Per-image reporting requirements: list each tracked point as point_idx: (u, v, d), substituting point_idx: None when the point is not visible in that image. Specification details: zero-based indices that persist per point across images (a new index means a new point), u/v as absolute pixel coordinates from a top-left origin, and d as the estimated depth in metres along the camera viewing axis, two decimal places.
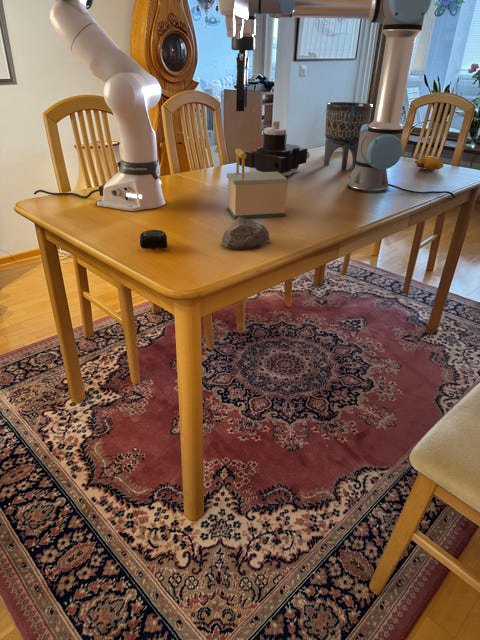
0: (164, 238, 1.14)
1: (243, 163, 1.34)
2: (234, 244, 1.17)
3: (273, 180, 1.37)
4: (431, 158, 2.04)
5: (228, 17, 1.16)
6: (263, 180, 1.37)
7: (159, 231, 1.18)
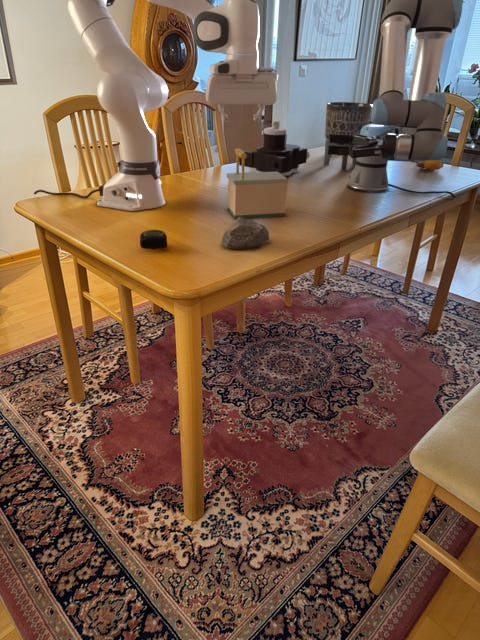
0: (164, 238, 1.14)
1: (243, 163, 1.34)
2: (234, 244, 1.17)
3: (273, 180, 1.37)
4: None
5: (218, 105, 1.28)
6: (263, 180, 1.37)
7: (159, 231, 1.18)
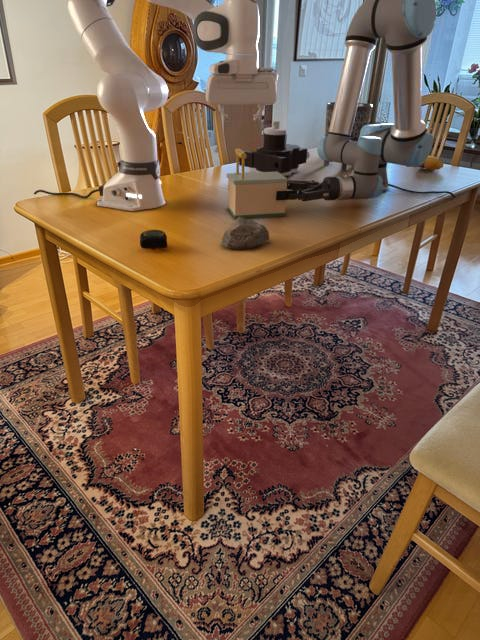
0: (164, 238, 1.14)
1: (243, 163, 1.34)
2: (234, 244, 1.17)
3: (273, 180, 1.37)
4: (431, 158, 2.04)
5: (218, 105, 1.28)
6: (263, 180, 1.37)
7: (159, 231, 1.18)
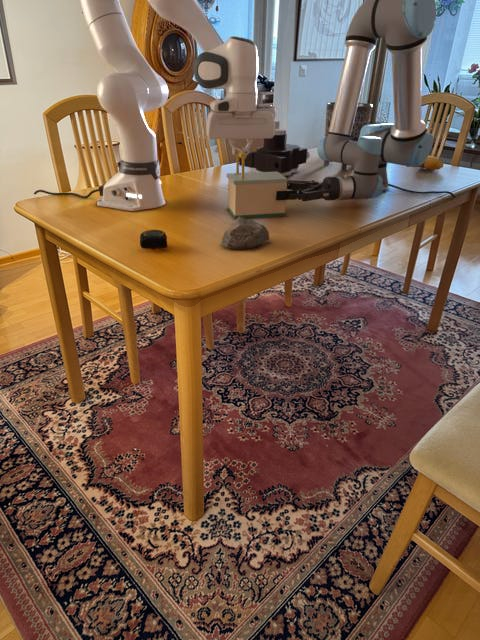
0: (164, 238, 1.14)
1: (243, 163, 1.34)
2: (234, 244, 1.17)
3: (273, 180, 1.37)
4: (431, 158, 2.04)
5: (229, 139, 1.34)
6: (263, 180, 1.37)
7: (159, 231, 1.18)
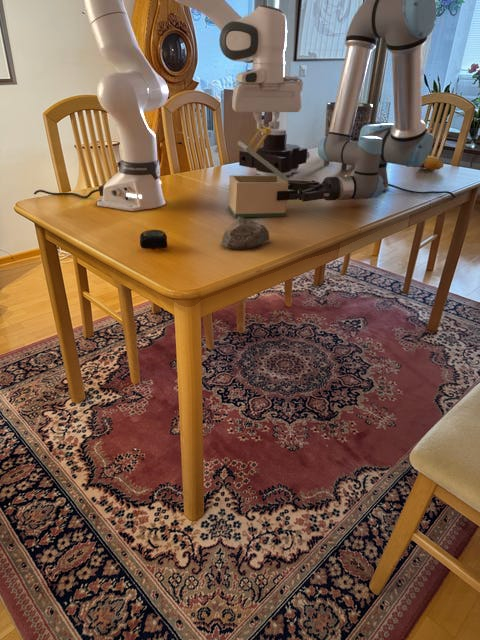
0: (164, 238, 1.14)
1: (264, 138, 1.32)
2: (234, 244, 1.17)
3: (278, 171, 1.36)
4: (431, 158, 2.04)
5: (254, 112, 1.31)
6: (270, 165, 1.35)
7: (159, 231, 1.18)
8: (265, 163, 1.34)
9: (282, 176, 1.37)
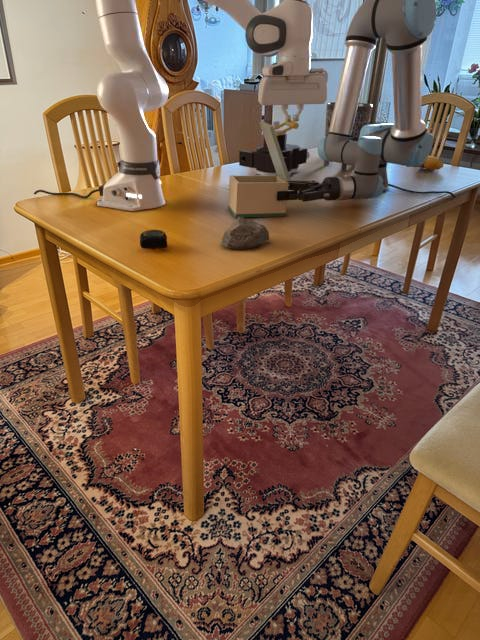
0: (164, 238, 1.14)
1: (289, 128, 1.32)
2: (234, 244, 1.17)
3: (285, 166, 1.36)
4: (431, 158, 2.04)
5: (282, 105, 1.32)
6: (282, 156, 1.34)
7: (159, 231, 1.18)
8: (278, 151, 1.33)
9: (286, 173, 1.37)
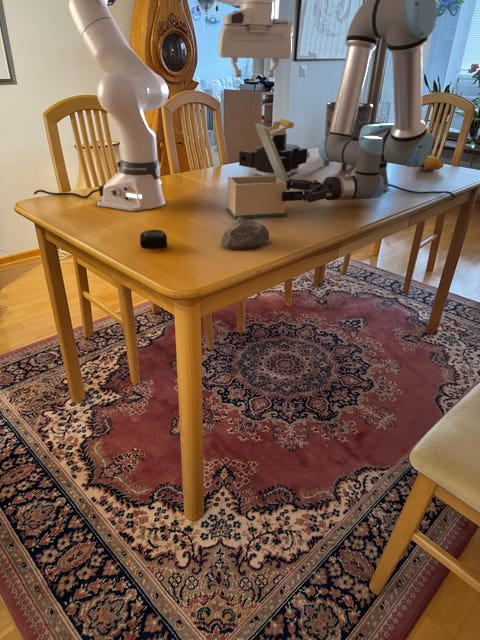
0: (164, 238, 1.14)
1: (284, 128, 1.32)
2: (234, 244, 1.17)
3: (282, 167, 1.36)
4: (431, 158, 2.04)
5: (231, 59, 1.23)
6: (278, 157, 1.34)
7: (159, 231, 1.18)
8: (275, 152, 1.33)
9: (283, 173, 1.37)
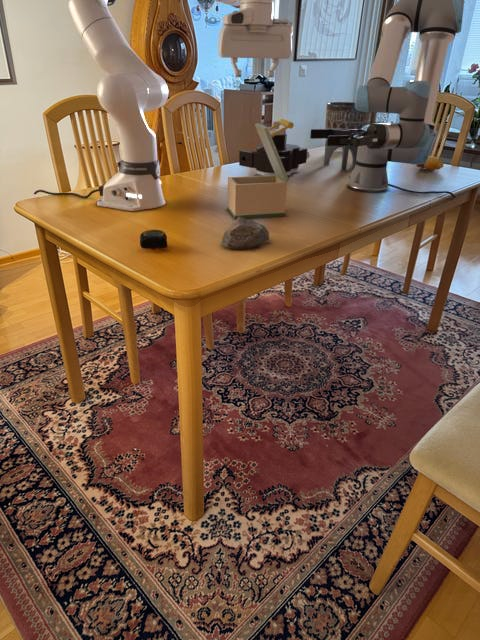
0: (164, 238, 1.14)
1: (284, 128, 1.32)
2: (234, 244, 1.17)
3: (282, 167, 1.36)
4: (431, 158, 2.04)
5: (231, 59, 1.23)
6: (278, 157, 1.34)
7: (159, 231, 1.18)
8: (275, 152, 1.33)
9: (283, 173, 1.37)
